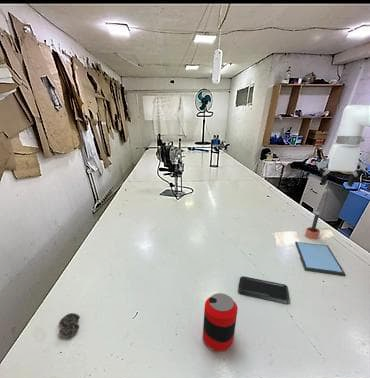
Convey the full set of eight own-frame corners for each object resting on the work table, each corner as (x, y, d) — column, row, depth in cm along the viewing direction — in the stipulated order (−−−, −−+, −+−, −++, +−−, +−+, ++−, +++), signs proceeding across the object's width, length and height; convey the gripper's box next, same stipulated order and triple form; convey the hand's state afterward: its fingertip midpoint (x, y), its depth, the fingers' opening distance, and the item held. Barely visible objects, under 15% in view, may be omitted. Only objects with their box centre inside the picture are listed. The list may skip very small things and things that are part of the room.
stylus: (312, 235, 109) (319, 211, 104) (313, 237, 107) (320, 213, 102) (308, 235, 109) (315, 211, 104) (309, 237, 108) (316, 212, 103)
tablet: (327, 247, 100) (327, 245, 100) (344, 276, 83) (345, 273, 82) (294, 243, 103) (295, 241, 103) (304, 270, 85) (305, 268, 85)
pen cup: (316, 235, 110) (318, 227, 109) (319, 241, 105) (321, 233, 104) (303, 234, 111) (305, 226, 110) (306, 239, 106) (308, 231, 105)
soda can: (204, 324, 63) (206, 288, 58) (233, 328, 62) (237, 292, 57) (201, 349, 56) (203, 311, 51) (233, 354, 55) (238, 316, 50)
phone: (240, 275, 80) (287, 284, 76) (240, 278, 81) (286, 287, 76) (237, 290, 73) (289, 301, 69) (237, 293, 74) (288, 304, 70)
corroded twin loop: (58, 342, 57) (57, 339, 57) (60, 318, 64) (59, 315, 64) (80, 335, 59) (80, 332, 59) (80, 313, 66) (79, 310, 65)
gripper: (369, 140, 91) (356, 183, 98) (320, 139, 94) (310, 181, 101) (378, 142, 84) (364, 188, 91) (325, 141, 88) (315, 186, 95)
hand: (336, 185), depth 96 cm, fingers open, 9 cm apart
